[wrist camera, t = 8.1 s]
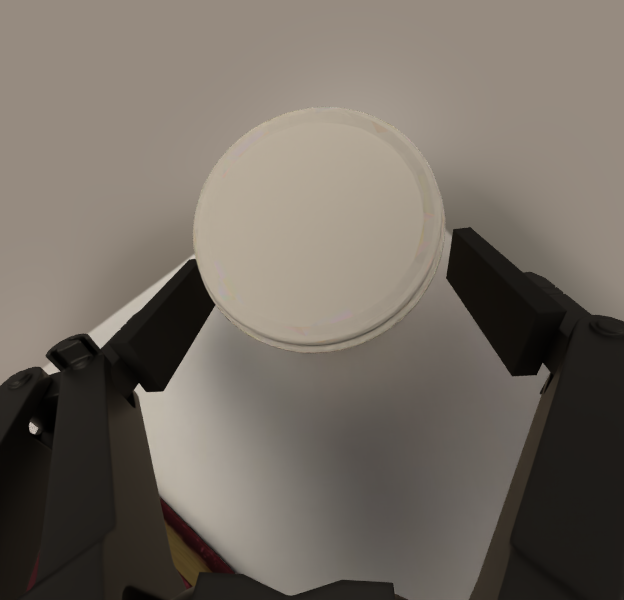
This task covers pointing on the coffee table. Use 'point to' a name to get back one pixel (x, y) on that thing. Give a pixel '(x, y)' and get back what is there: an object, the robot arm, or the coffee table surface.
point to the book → (180, 551)
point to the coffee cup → (319, 230)
